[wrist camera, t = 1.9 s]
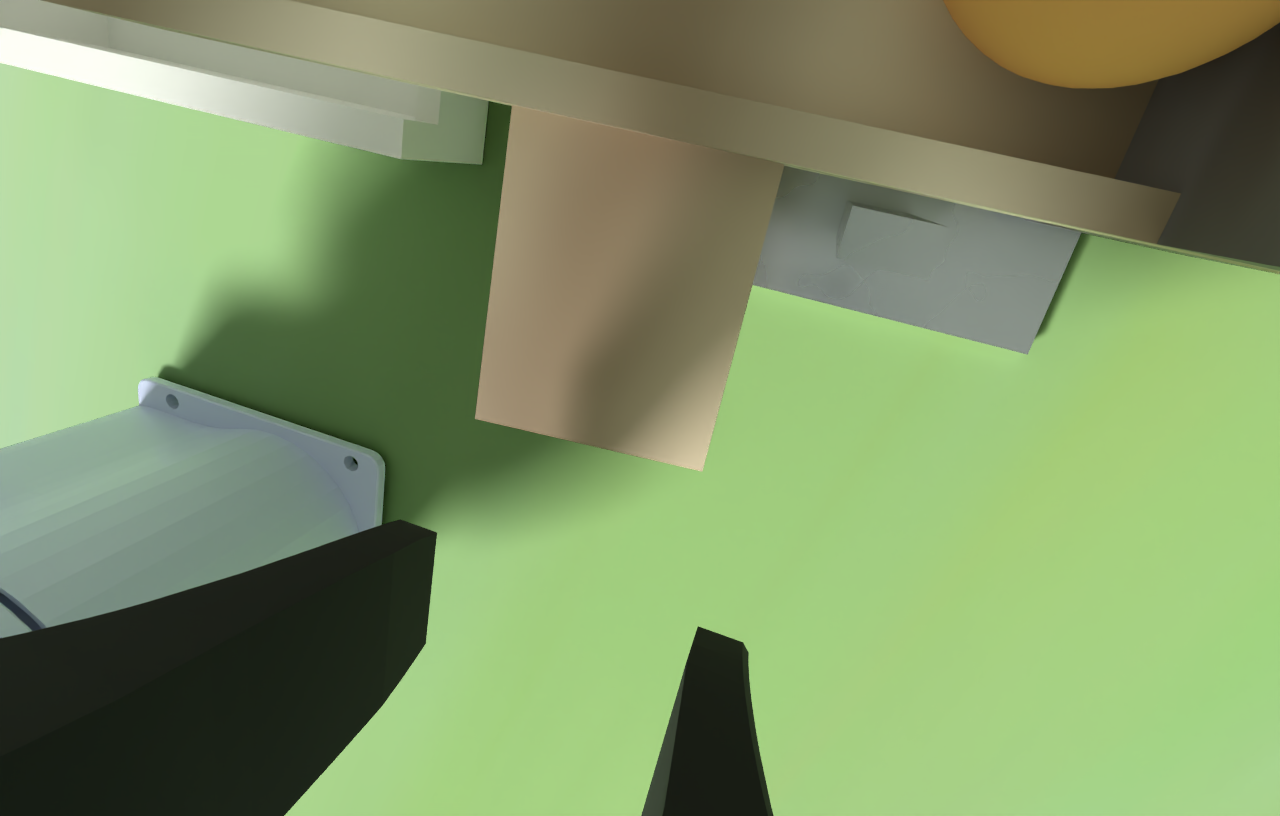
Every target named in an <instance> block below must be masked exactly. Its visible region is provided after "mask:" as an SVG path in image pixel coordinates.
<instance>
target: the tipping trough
mask: <svg viewBox="0 0 1280 816" xmlns="http://www.w3.org/2000/svg"><path fill="white" fill-rule="evenodd" d="M42 1H46V2H50V3H54V4H58V5H63V6H67V7H71V8H75V9H79V10H83V11H88V12H92V13H96V14H100V15H104V16H109V17H113V18H117V19H121V20H125V21H129V22H134V23H138V24H142V25H146V26H150V27H155V28H159V29H163V30H167V31H172V32H176V33H181V34H185V35H190V36H195V37H199V38H204V39H208V40H213V41H217V42H222V43H226V44H231V45H236V46H240V47H245V48H249V49H254V50H258V51H263V52H268V53H272V54H277V55H281V56H286V57H290V58H295V59H300V60H304V61H309V62H313V63H318V64H322V65H327V66H332V67H336V68H341V69H345V70H350V71H354V72H359V73H364V74H368V75H373V76H377V77H382V78H386V79H391V80H396V81H400V82H405V83H409V84H414V85H418V86H423V87H428V88H432V89H437V90H441V91H446V92H450V93H455V94H460V95H464V96H469V97H473V98H478V99H482V100H487V101H491V102H496V103H501V104H505V105H510V106H512V110H511V118H510V127H509V135H508V144H507V152H506V161H505V169H504V177H503V186H502V194H501V203H500V211H499V220H498V228H497V237H496V245H495V253H494V262H493V270H492V279H491V287H490V296H489V304H488V313H487V321H486V329H485V338H484V346H483V355H482V363H481V372H480V380H479V388H478V397H477V405H476V414H475V419H478V420H482V421H486V422H491V423H495V424H499V425H504V426H508V427H512V428H517V429H521V430H525V431H530V432H534V433H538V434H543V435H547V436H551V437H555V438H560V439H564V440H568V441H573V442H577V443H581V444H586V445H590V446H594V447H599V448H603V449H607V450H612V451H616V452H620V453H625V454H629V455H633V456H637V457H642V458H646V459H650V460H655V461H659V462H663V463H668V464H672V465H676V466H681V467H685V468H689V469H694V470H698V471H703V467H704V463H705V460H706V456H707V452H708V448H709V445H710V441H711V437H712V433H713V430H714V426H715V422H716V419H717V415H718V411H719V407H720V404H721V400H722V396H723V392H724V389H725V385H726V381H727V378H728V374H729V370H730V366H731V363H732V359H733V355H734V351H735V348H736V344H737V340H738V336H739V333H740V329H741V325H742V322H743V318H744V314H745V310H746V307H747V303H748V299H749V295H750V292H751V288H752V284H753V281H754V277H755V273H756V269H757V266H758V262H759V258H760V254H761V251H762V247H763V243H764V240H765V236H766V232H767V228H768V225H769V221H770V217H771V213H772V210H773V206H774V202H775V198H776V195H777V191H778V187H779V184H780V180H781V176H782V172H783V169H784V166H788V167H793V168H798V169H802V170H807V171H811V172H816V173H820V174H825V175H830V176H834V177H839V178H843V179H848V180H852V181H857V182H862V183H866V184H871V185H875V186H880V187H884V188H889V189H894V190H898V191H903V192H907V193H912V194H916V195H921V196H926V197H930V198H935V199H939V200H944V201H948V202H953V203H958V204H962V205H967V206H971V207H976V208H980V209H985V210H990V211H994V212H999V213H1003V214H1008V215H1012V216H1017V217H1022V218H1024V220H1026V221H1030V222H1035V223H1040V224H1044V225H1049V226H1053V227H1058V228H1062V229H1067V230H1071V231H1076V232H1081V233H1085V234H1090V235H1094V236H1099V237H1103V238H1108V239H1113V240H1117V241H1122V242H1126V243H1131V244H1135V245H1140V246H1145V247H1149V248H1154V249H1158V250H1163V251H1167V252H1172V253H1177V254H1181V255H1186V256H1191V257H1196V258H1201V259H1206V260H1211V261H1216V262H1221V263H1226V264H1231V265H1236V266H1241V267H1246V268H1251V269H1256V270H1261V271H1266V272H1271V273H1276V274H1280V23H1278V24H1277V25H1275V26H1274V27H1272V28H1271V29H1269V30H1268V31H1266V32H1264V33H1263V34H1261V35H1260V36H1258V37H1257V38H1255V39H1254V40H1252V41H1250V42H1248V43H1246V44H1244V45H1242V46H1240V47H1239V48H1237V49H1235V50H1233V51H1231V52H1229V53H1227V54H1225V55H1223V56H1221V57H1219V58H1216V59H1214V60H1212V61H1209V62H1207V63H1205V64H1202V65H1200V66H1197V67H1195V68H1192V69H1190V70H1187V71H1185V72H1182V73H1179V74H1176V75H1172V76H1168V77H1165V78H1161V79H1157V80H1153V81H1149V82H1145V83H1141V84H1137V85H1130V86H1123V87H1115V88H1067V87H1060V86H1054V85H1048V84H1045V83H1041V82H1038V81H1034V80H1031V79H1028V78H1025V77H1022V76H1019V75H1017V74H1015V73H1013V72H1011V71H1009V70H1007V69H1005V68H1003V67H1001V66H1000V65H998V64H997V63H995V62H994V61H993V60H991V59H990V58H988V57H987V56H986V55H984V54H983V53H982V52H981V51H980V50H979V49H978V48H977V47H976V46H975V45H974V44H973V43H972V42H971V41H970V40H969V39H968V38H967V37H966V36H965V35H964V34H963V33H962V31H961V30H960V28H959V27H958V26H957V24H956V23H955V22H954V20H953V19H952V17H951V15H950V13H949V11H948V9H947V7H946V5H945V3H944V1H943V0H42Z"/></svg>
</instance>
